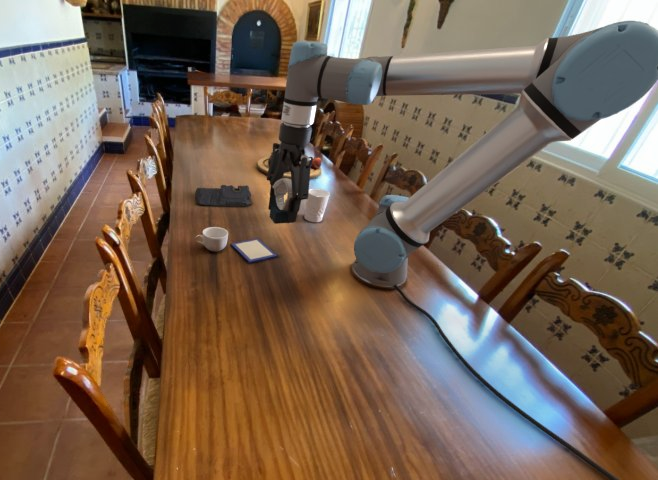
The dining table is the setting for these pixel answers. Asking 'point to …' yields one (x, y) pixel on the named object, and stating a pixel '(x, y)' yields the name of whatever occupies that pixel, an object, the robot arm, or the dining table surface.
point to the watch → (281, 200)
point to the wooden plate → (265, 162)
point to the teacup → (214, 238)
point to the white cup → (316, 204)
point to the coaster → (253, 250)
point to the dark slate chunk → (224, 196)
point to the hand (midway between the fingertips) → (281, 215)
